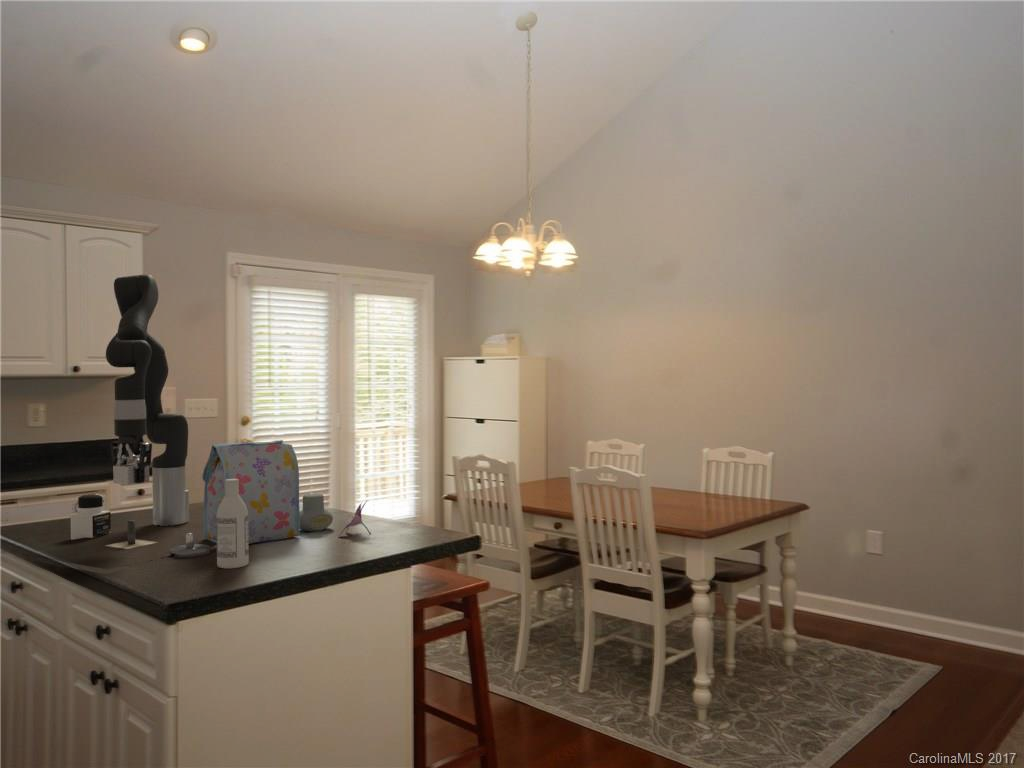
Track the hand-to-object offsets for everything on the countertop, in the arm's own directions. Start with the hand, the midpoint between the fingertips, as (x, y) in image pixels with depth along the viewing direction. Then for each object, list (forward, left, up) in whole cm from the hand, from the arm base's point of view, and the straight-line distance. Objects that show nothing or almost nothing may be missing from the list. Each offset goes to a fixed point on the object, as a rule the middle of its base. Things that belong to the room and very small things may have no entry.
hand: (131, 482), depth 208 cm
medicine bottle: (-3, -22, -17) cm, 28 cm away
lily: (-40, +40, -17) cm, 59 cm away
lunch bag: (-22, +20, -17) cm, 34 cm away
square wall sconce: (0, 0, 0) cm, 0 cm away
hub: (-2, +20, -17) cm, 26 cm away
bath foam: (+2, +40, -17) cm, 44 cm away
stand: (0, 0, -17) cm, 17 cm away
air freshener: (-40, +25, -17) cm, 50 cm away
